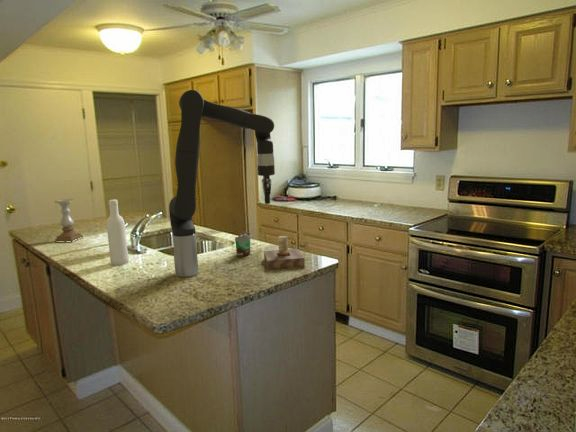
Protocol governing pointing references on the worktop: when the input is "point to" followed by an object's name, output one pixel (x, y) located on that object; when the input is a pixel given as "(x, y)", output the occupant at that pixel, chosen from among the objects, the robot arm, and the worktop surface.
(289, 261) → the socket block
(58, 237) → the candle holder
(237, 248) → the food container
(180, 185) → the robot arm
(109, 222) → the bottle
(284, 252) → the dowel
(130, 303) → the worktop surface
